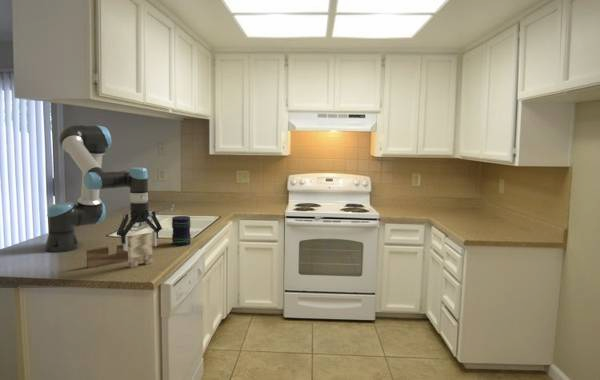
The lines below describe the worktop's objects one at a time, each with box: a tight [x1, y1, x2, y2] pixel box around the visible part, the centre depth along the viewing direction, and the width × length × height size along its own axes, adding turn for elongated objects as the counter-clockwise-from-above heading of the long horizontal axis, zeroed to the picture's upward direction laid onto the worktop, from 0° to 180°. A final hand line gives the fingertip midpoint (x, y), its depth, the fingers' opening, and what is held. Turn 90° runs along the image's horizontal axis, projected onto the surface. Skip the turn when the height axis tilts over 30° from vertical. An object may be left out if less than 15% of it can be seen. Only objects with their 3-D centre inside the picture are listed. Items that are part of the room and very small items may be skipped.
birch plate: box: [127, 232, 153, 269], centre depth 186 cm, size 10×3×14 cm, turn 136°
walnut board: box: [85, 243, 128, 269], centre depth 189 cm, size 2×22×8 cm, turn 136°
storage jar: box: [171, 215, 192, 247], centre depth 225 cm, size 10×10×15 cm
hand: (140, 248), depth 186 cm, fingers open, 13 cm apart
